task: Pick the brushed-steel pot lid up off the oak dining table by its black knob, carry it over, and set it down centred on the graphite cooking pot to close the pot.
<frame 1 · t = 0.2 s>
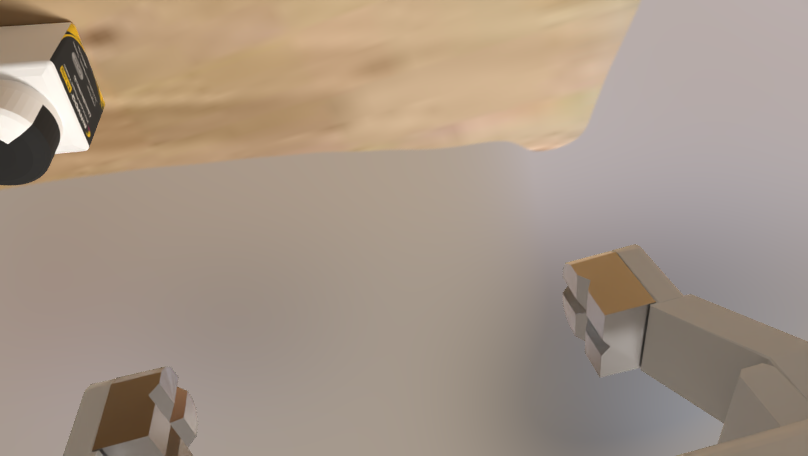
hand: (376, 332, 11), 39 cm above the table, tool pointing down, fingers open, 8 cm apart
medicine bottle: (43, 67, 44), on the table
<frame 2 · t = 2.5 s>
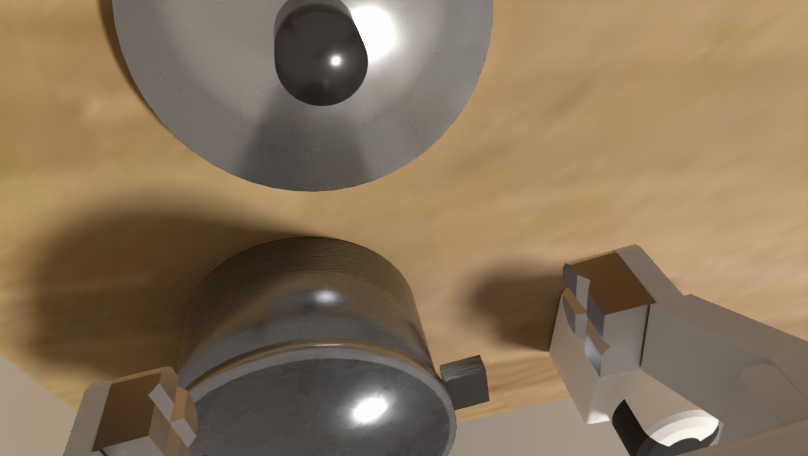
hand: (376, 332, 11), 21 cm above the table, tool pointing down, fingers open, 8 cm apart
pot: (305, 327, 40), on the table
medicine bottle: (594, 315, 45), on the table
lid: (314, 27, 28), on the table
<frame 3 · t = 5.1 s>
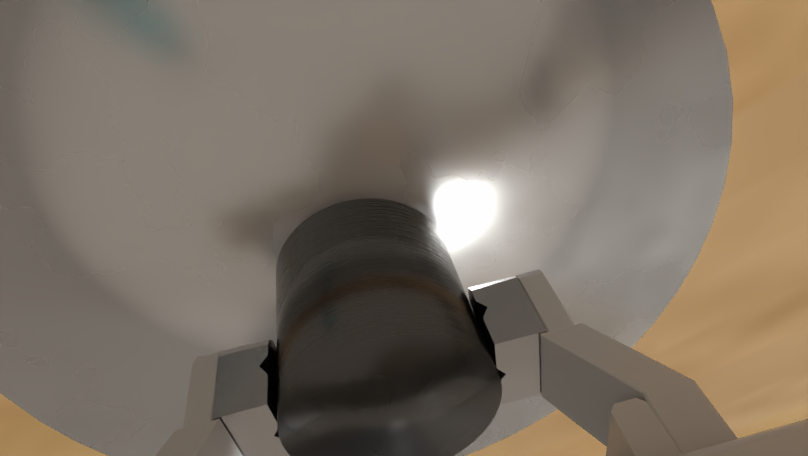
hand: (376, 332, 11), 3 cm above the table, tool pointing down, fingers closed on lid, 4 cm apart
lid: (357, 240, 14), on the table, touching gripper
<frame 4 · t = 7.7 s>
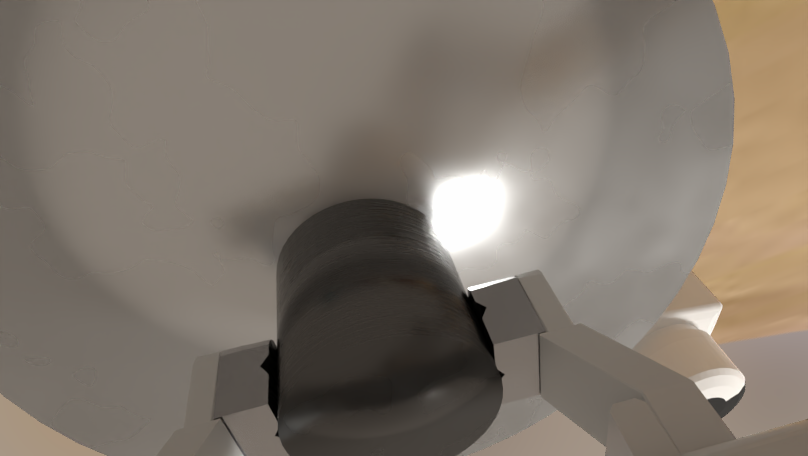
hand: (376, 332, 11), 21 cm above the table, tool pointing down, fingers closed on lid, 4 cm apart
medicine bottle: (611, 280, 44), on the table
lid: (358, 240, 14), point 18 cm above the table, touching gripper
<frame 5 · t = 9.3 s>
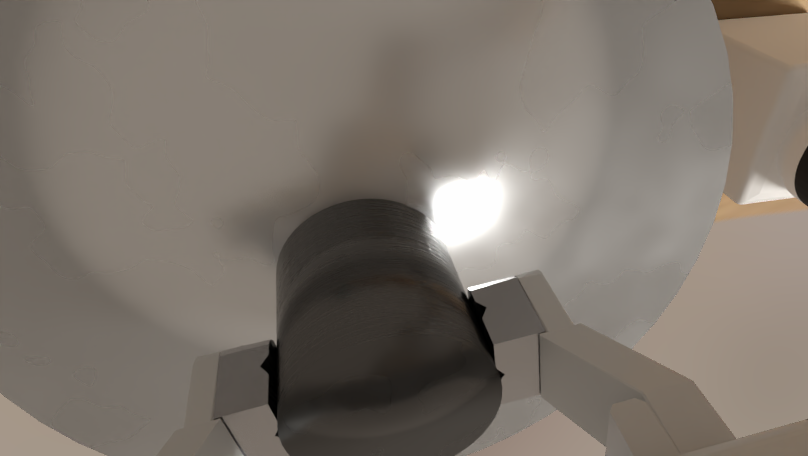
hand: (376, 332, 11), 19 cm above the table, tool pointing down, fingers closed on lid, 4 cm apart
medicine bottle: (729, 78, 32), on the table
lid: (357, 240, 14), point 15 cm above the table, touching gripper
when the fingers open (15 cm above the table, at t = 10.3 s): lid drops 1 cm, resting on pot.
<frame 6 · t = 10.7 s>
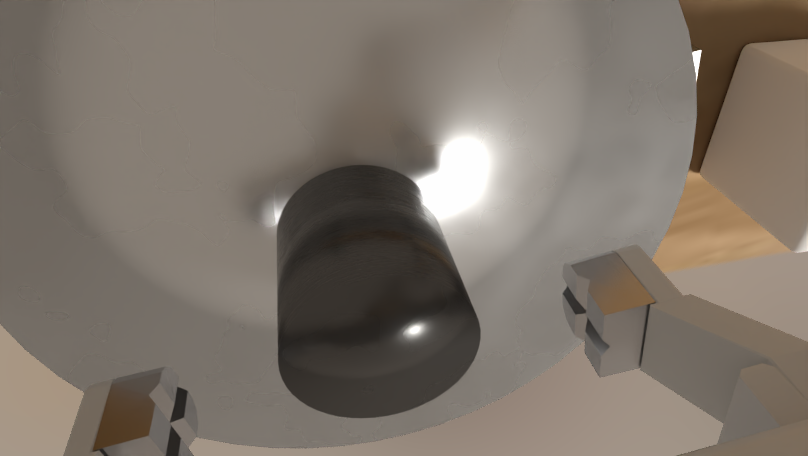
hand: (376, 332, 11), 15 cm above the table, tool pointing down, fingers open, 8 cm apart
medicine bottle: (776, 105, 29), on the table
lid: (352, 208, 15), point 10 cm above the table, touching pot
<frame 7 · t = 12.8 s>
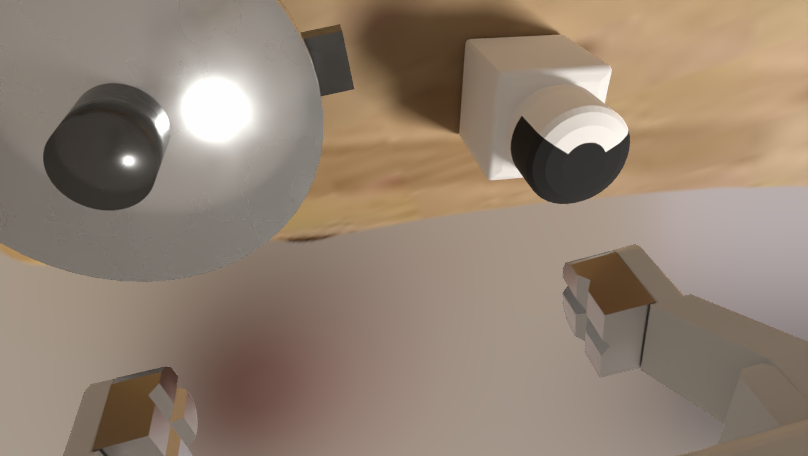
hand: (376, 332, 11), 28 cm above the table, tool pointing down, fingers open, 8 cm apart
pot: (161, 53, 34), on the table
medicine bottle: (508, 85, 40), on the table
lid: (128, 115, 26), point 10 cm above the table, touching pot
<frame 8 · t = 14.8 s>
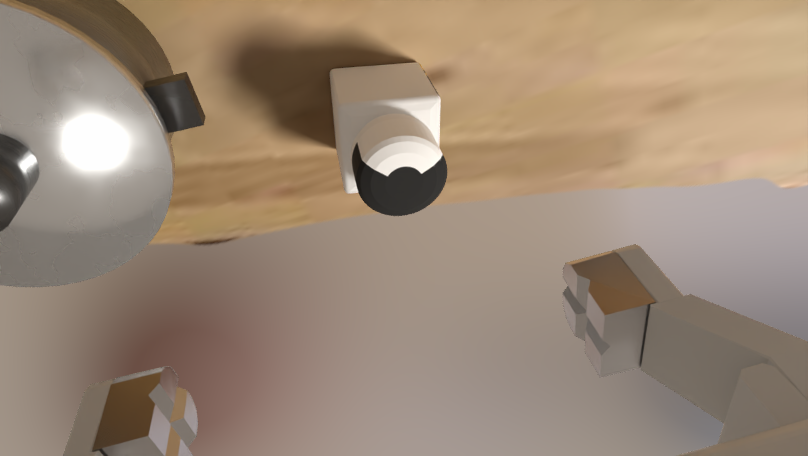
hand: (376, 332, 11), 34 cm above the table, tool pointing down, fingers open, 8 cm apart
pot: (58, 88, 40), on the table
medicine bottle: (376, 106, 46), on the table
lid: (6, 154, 32), point 10 cm above the table, touching pot
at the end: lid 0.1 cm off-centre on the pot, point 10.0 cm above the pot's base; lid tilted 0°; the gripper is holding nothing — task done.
